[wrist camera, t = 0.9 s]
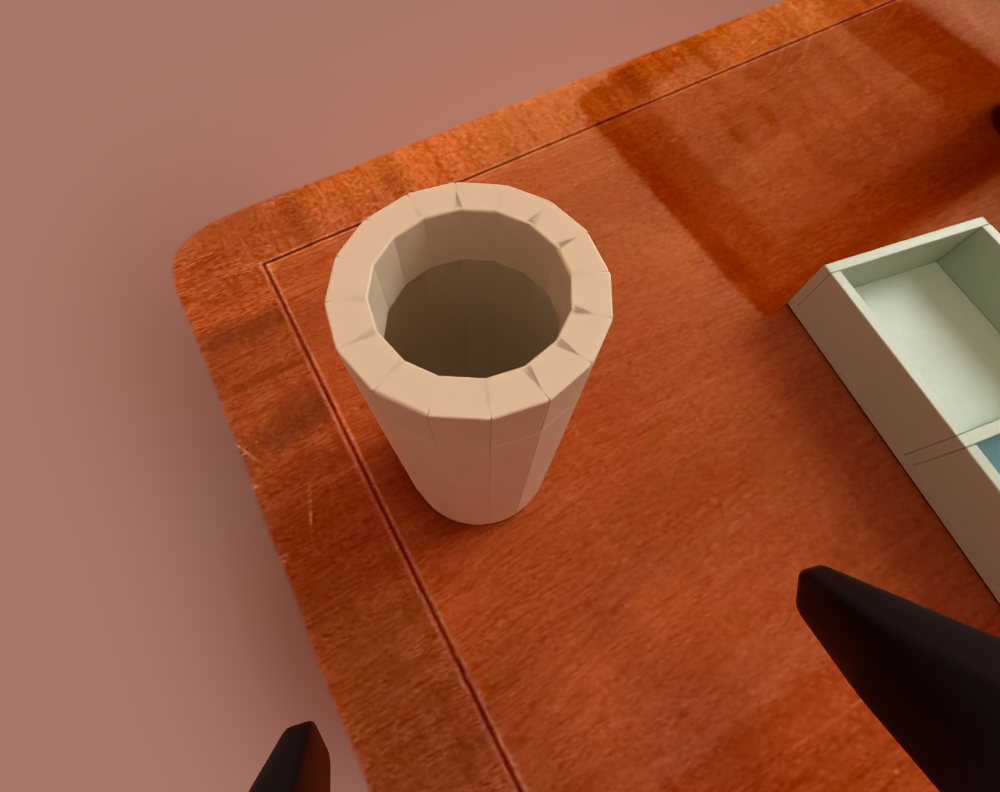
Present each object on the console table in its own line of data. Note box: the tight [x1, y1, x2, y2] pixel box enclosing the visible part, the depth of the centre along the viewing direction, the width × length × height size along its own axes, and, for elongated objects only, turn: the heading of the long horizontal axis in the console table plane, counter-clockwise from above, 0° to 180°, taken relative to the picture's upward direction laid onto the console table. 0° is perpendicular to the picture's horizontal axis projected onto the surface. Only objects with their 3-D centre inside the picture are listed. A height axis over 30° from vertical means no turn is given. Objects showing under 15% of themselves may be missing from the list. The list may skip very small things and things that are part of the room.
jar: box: [324, 182, 613, 525], centre depth 18 cm, size 7×7×14 cm
